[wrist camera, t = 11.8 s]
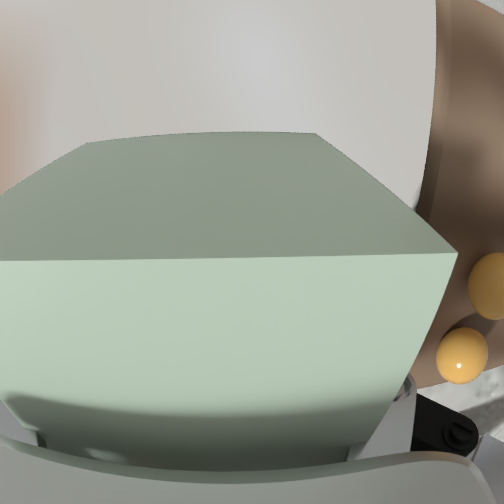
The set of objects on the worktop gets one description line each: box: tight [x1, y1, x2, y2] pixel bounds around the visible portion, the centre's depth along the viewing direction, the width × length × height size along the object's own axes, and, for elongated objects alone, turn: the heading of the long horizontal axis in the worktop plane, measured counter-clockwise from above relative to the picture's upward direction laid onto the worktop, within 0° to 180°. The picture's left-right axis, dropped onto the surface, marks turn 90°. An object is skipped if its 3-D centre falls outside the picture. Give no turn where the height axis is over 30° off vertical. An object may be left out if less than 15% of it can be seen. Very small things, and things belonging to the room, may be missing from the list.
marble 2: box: [467, 252, 504, 320], centre depth 11 cm, size 3×3×3 cm
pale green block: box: [0, 132, 458, 472], centre depth 9 cm, size 11×7×7 cm, turn 179°
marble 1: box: [436, 327, 488, 384], centre depth 13 cm, size 3×3×3 cm
